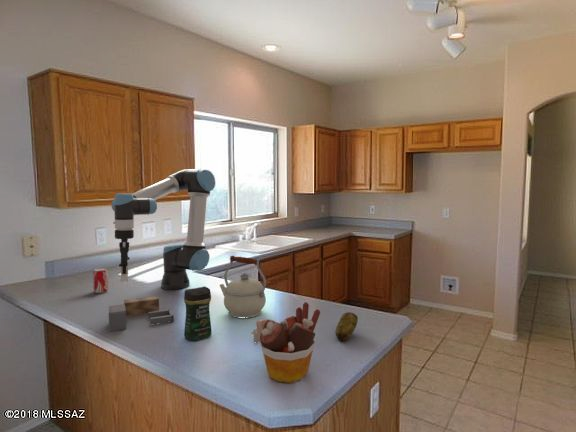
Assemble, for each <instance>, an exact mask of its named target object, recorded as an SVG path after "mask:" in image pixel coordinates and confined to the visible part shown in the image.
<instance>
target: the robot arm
mask: <svg viewBox="0 0 576 432" xmlns="http://www.w3.org/2000/svg"><path fill="white" fill-rule="evenodd" d="M215 187H216V177H215V175H214V174H213V172H212V171H211V170H209V169H206V168H191V169H189V168H188V169H187V168H185V169H182V170H179V171H177V172H175V173H173V174H169V175H168V176H166V177H165V179H162V180H160V181H159V182H156V183H154V184H152V185H149V186H146V187H144V188H141V189H139V190H137V191H135V192H133V193H116V194H115V195H114V199H113V200H112V202H111V205H110V206H111V209H112V211H114V221H113V222H112V224H113V225H114V229H115V230H114V239H116V240H120V242H119V243H118V244H119V245H118V246H119V253H120V264H118V267H120V282H121V283H122V282H123V283H125V282H128V281H129V260H130V257H129V250H130V242H129V240H131V239H133V238H134V237H135V232H134V226H135V225H134V224H135V223H134V221H135V218H134V216H140V215H141V216H143V215H145V216H146V215H148V216H149V215H153V214H155V213H156V212H157V210H158V205H157V203H158V202H157V201H156V200H159V199H161V198H163V197H165V196H167V195H169V194H171V193H173V194H175V193H178V192H182V191H183V192H184V191H187V194H188V195H189V196H190V197H189V210H188V219H187V221H188V222H187V233H186V234H187V235H186V241H185V242H184V243H177V244H175V243H174V244H169V245H166V246H164V247H163V253H162V254H163V255H162V256H163V274H162V278H161V282H160V287H161V289H164V290H180V289H185V288H187V287H189V286H190V283H191V282H190V278H189V276H188V273H187V270H190V271H194V272H195V271H197V272H198V271H203V270H204V269H205V268H206V267H208V264H209V262H210V253H209V251H208V250H207V249H206V248H207V247H206V244H205V242H204V234H205V226H206V225H205V223H206V212H207V201H208V200H207V199H208V197H210V196H211V192H212V191H214V189H215Z"/></svg>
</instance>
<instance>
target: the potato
mask: <svg viewBox="0 0 576 432" xmlns="http://www.w3.org/2000/svg"><path fill="white" fill-rule="evenodd" d="M357 325H358V315H357V314H356V313H353V312H351V311H349V312H345V313H343V314H342V315H341V316H340V319H339V321H338V322H337V325H336V329H335V332H334V333H335V336H336V338H337V340H338V341H341V340H342V341H341V342H343V341H347V340H348V339H349V338H350V336H351V335H352V334H353V332H354V331H355V329H356V327H357Z"/></svg>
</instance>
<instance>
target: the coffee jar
mask: <svg viewBox="0 0 576 432" xmlns="http://www.w3.org/2000/svg"><path fill="white" fill-rule="evenodd" d="M211 300H212V294H211V289H210V288H209V287H207V286H205V285H204V286H201V287H194V288H189V289H187V288H186V289H185V290H184V296H183V301H184V304H185V321H184V322H185V323H184V330H183V332H184V334H183V336H184V337H185V339H186V340H188V341H194V340H196V341H200V340H203V338H204V339H207V338H210V337H211V335H212V332H213V331H212V322H211V321H212V320H211V313H210V304H211ZM209 336H210V337H209ZM199 339H200V340H199ZM194 342H195V341H194Z"/></svg>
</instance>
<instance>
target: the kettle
mask: <svg viewBox="0 0 576 432" xmlns="http://www.w3.org/2000/svg"><path fill="white" fill-rule="evenodd" d="M229 257H230V258H229V263H230V264H229V266H228V267H227V269H226V270H225V271H224V274H223V277H224V282H225V284H224V283H220V284H219V288H220V290H221V292H222V295H223V296H224V298H223V305H224V307H225V309H226V311H228V315H229V314H230V315H232V316H235V317H245V318H244V319H247V318H246V317H252V318H255V317H254V316H256V317H258V316H259V315H261V314H262V310H263V309H264V307H265V306H266V302H267V301H266V299H267V298H266V295H265V290H266V287H267V279H266V277H265V274H264V273H263V271H262V270H261V268H260V259H259V258H251V257H245V256H235V255H230V256H229ZM234 262H236V263H240V264H247V265H255V266H256V269H257V272H258V273H259V274H260V275H261V278H262V280H263V284H262V282H260V281H259V280H257V279H255V278H251V277H250V275H249V274H248V273H246V272H244V273H242V274H241V275H240V276H239V278H235V279H233V280H231V281H230V282H228V276H227V275H228V272H229V270H230V269H231V267H233V263H234ZM225 285H226V286H225ZM230 315H229V316H230ZM257 315H258V316H257ZM232 316H231V317H232ZM235 317H234V318H235Z"/></svg>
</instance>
